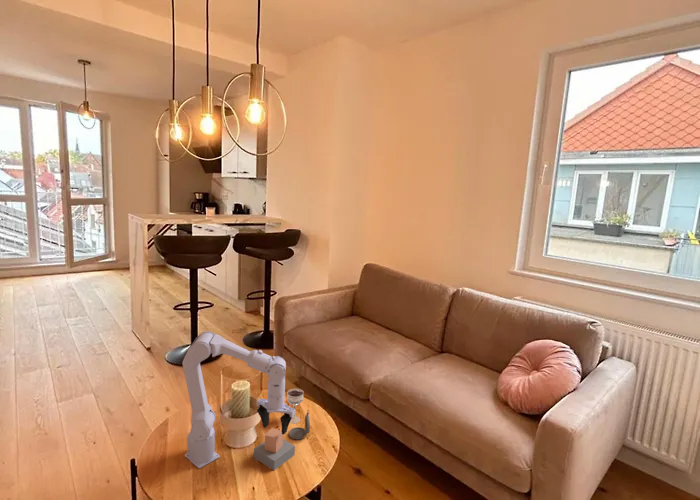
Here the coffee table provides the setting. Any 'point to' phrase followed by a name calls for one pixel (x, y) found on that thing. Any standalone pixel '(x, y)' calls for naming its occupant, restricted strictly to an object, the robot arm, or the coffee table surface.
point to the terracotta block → (273, 440)
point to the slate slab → (274, 455)
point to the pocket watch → (301, 429)
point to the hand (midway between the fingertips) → (275, 429)
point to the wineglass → (295, 401)
